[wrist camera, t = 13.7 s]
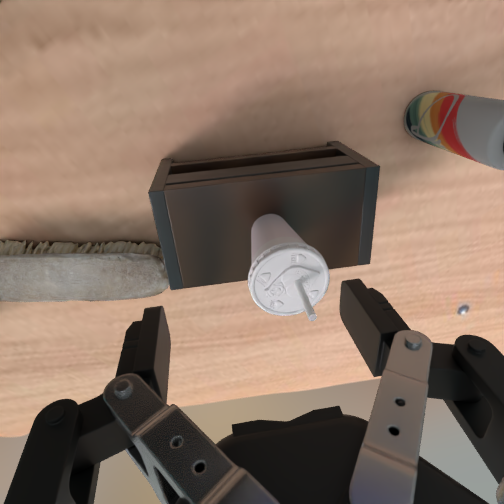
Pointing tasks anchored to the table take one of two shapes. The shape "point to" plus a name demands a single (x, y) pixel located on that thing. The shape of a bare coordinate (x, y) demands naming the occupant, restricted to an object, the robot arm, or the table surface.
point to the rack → (262, 209)
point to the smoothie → (285, 269)
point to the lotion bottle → (459, 125)
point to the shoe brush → (80, 271)
